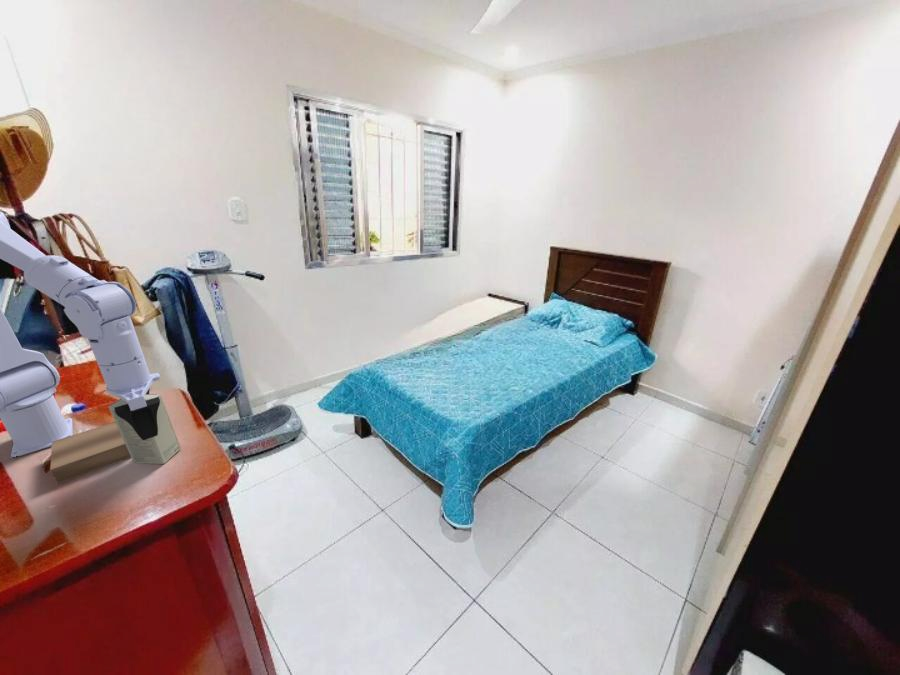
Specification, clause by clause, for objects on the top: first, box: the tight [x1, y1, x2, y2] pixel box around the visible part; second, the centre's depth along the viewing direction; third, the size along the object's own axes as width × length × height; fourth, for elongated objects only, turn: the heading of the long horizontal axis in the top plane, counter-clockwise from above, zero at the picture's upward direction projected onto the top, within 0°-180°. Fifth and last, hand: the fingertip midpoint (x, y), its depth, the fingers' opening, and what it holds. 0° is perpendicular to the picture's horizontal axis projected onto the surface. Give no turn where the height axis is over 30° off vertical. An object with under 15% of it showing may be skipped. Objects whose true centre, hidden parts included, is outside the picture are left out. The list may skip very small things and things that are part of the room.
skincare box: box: [107, 393, 182, 465], centre depth 64 cm, size 6×4×12 cm
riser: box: [49, 421, 131, 485], centre depth 66 cm, size 10×10×3 cm
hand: (146, 427), depth 64 cm, fingers open, 7 cm apart
